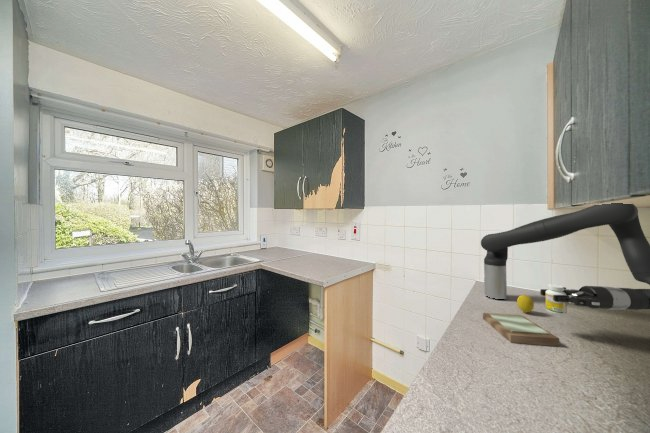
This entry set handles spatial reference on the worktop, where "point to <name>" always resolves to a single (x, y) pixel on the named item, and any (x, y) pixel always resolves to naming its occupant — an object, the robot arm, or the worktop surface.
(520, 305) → the lemon
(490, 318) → the brown flat wooden block
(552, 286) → the supplement bottle
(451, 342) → the worktop surface
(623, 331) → the worktop surface
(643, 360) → the worktop surface
